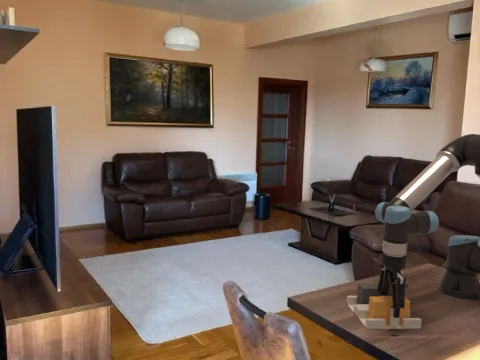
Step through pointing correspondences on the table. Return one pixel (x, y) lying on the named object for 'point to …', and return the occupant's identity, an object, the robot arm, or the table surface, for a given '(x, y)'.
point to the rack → (379, 323)
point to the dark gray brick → (368, 292)
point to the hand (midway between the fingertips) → (388, 319)
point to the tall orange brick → (386, 308)
